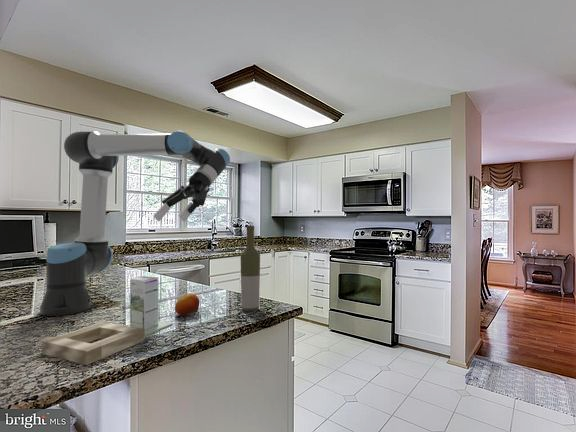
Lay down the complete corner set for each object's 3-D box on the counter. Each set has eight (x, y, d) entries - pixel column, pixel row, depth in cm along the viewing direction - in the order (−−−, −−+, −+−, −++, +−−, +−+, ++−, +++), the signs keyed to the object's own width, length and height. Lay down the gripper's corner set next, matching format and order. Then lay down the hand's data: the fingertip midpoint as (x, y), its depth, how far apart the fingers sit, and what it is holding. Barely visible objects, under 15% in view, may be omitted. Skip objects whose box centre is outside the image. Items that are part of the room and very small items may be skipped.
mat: (115, 331, 94) (115, 329, 94) (145, 320, 104) (145, 319, 104) (143, 336, 90) (143, 334, 90) (172, 324, 100) (172, 323, 100)
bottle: (242, 307, 120) (242, 225, 121) (261, 307, 120) (261, 225, 121) (238, 312, 113) (238, 225, 114) (258, 312, 113) (258, 225, 114)
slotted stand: (41, 353, 79) (42, 340, 79) (102, 332, 93) (102, 321, 93) (86, 365, 72) (87, 351, 72) (144, 340, 87) (144, 329, 87)
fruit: (197, 314, 106) (186, 292, 107) (178, 325, 108) (167, 304, 109) (208, 307, 114) (197, 287, 115) (190, 318, 116) (180, 298, 117)
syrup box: (159, 324, 99) (159, 276, 99) (143, 330, 93) (144, 279, 94) (144, 322, 101) (145, 275, 101) (129, 328, 96) (129, 278, 96)
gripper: (232, 184, 119) (199, 226, 106) (186, 188, 133) (153, 225, 120) (221, 168, 115) (186, 210, 102) (175, 173, 128) (139, 211, 116)
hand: (168, 218), depth 111 cm, fingers open, 13 cm apart
